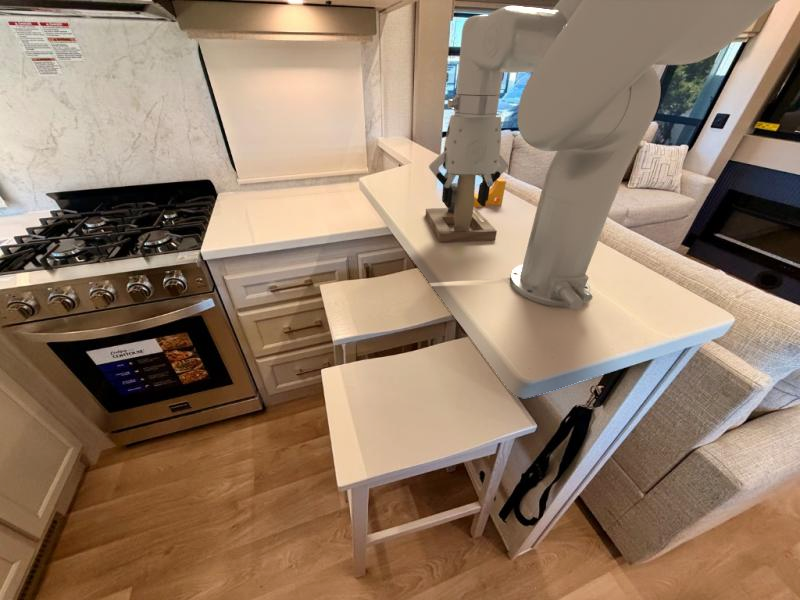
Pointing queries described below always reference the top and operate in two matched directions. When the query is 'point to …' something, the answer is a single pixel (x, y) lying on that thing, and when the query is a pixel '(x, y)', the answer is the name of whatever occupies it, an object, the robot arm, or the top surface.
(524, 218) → the top surface
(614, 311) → the top surface
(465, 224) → the handle
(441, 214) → the plate
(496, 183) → the pipe clamp
